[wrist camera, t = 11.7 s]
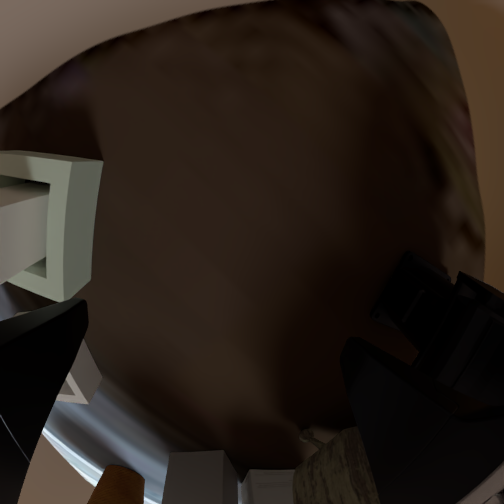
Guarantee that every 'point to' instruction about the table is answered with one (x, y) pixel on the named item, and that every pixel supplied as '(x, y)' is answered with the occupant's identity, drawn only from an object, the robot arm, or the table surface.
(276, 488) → the skincare box
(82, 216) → the socket block
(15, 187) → the plug
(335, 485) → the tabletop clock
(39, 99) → the table surface
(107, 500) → the disposable coffee cup
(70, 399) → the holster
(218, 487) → the perfume bottle
